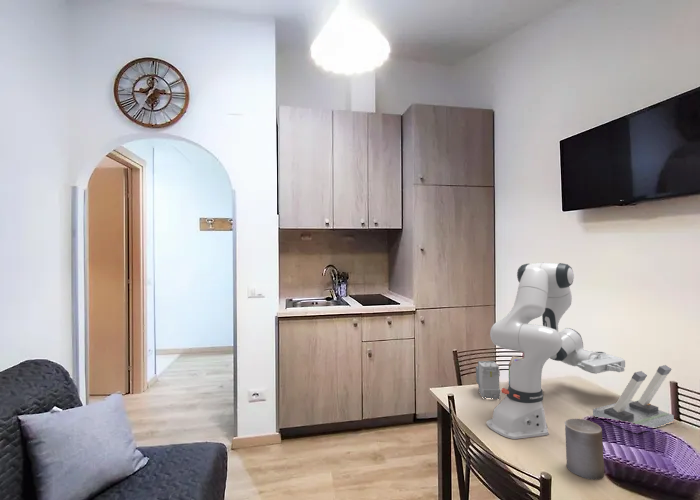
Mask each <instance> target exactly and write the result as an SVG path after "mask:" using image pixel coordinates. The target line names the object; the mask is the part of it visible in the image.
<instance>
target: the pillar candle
mask: <svg viewBox="0 0 700 500" xmlns="http://www.w3.org/2000/svg"><path fill="white" fill-rule="evenodd" d="M564 427H565V428H564V431H565V434H564V435H565V456H566V468H567V469H568V470H569V471H570V472H571V474H572V473H573V474H575V475H577V476H578V477H581V478H583V479H587V480H600V479H603V477H604V476H605V464H604V463H605V462H604V459H603V458H604V443H603V429H602V426H600V425H599V424H598V423H595V422H594V421H591V420H588V419H583V418H569V419H566V420H565V421H564Z"/></svg>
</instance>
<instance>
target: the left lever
mask: <svg viewBox="0 0 700 500" xmlns="http://www.w3.org/2000/svg"><path fill="white" fill-rule="evenodd" d="M647 377H648V374H647V373H645V372H643V371H642V370H641V371H635V372H634V373H633V375H632V376H631V378H630V379H629V382H628V383H627V385H626V387H625V388H624V389H623V392H622V393H621V395H620V397H618V400H617V402H615V403H616V404H615V406H614V408H613V409H614V410H616V411H617V412H622V411H624V410H625V409H626V407H627V406H628V404H629V402H630V401H632V399H633V398H634V396H635V394H636V393H637V391H638V390H639V388H640V386H641V385H642V384H643V382H644V381H645V380H646V378H647Z"/></svg>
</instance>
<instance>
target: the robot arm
mask: <svg viewBox="0 0 700 500" xmlns="http://www.w3.org/2000/svg"><path fill="white" fill-rule="evenodd" d="M516 277H517V280H518V286H517V292H516V296H515V300H514V303H513V306H512V308H511V310H510V311H509V313H508V314H507V315H505V316H504V317H503V318H502V319H500V320H498V321H496V322H495V323H493V325H492V326H491V328H490V332H489V336H490V339H491V342H492V343H493V345H494V346H497V347H500V348H502V349H505V350H509V351H510V350H511V351H514V352H522V353H523V355H524V356H523V358H524V359H521V360H518V361H515V362H514V363H512V364H511V366H510V385H509V384H508V388H506V387H502V388H501V389H500V393H502V394H504V395H506V396H505V397H504V398H503V399H502V400H501V402H499V404H498V405H496V406H495V407H494V409H493V413H492V418H490V419H488V420H486V425H487V427H488V428H490V429H491V430H492V431H493V432H495V433H497V434H498V435H501V436H503V437H505V438H508V439H512V440H517V439H526V438H533V437H542V436H549V435H550V433H549V429H548V424H547V421H546V413H545V409H544V405H543V404H544V403H543V400H544V391H543V390H544V389H543V388H542V377H543V376H542V373H543V367H544V365H545V364H546V362H547V361H548V360H552V361H557V362H561V363H563V364H566V365H569V366H572V367H578V368H579V369H581V370H583V371H585V372H588V373H590V374H595V375H597V374H601V373H602V374H603V373H605V372H617V373H622V372H625V368H626V360H625V359H624V358H622V357H619V356H616V355H612V354H607V353H606V352H605V351H593V350H588V349H584V342H583V338H582V336H581V334H580V333H579V332H578V331H577V330H575V329H573V328H570V327H565V328H564V329H562V330H561V331H559V323H560V320H561V319H562V317H563V315H564V314H565V313H566V312H567V311H568V310H569V308H570V307H571V306H572V302H573V301H572V299H573V298H572V292H571V288H570V287H571V285H573V283H574V279H575V274H574V271H573V267H571V266H570V265H569V264H567V263H562V262H559V263H554V262H553V263H552V262H536V263H525V264H521V266H519V267H518V269H517V273H516ZM540 317H541V318H542V319H541V320H542V325H540V324H534V323H533V324H532V323H530V322H532V321H533V320H535V319H537V318H540Z"/></svg>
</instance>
